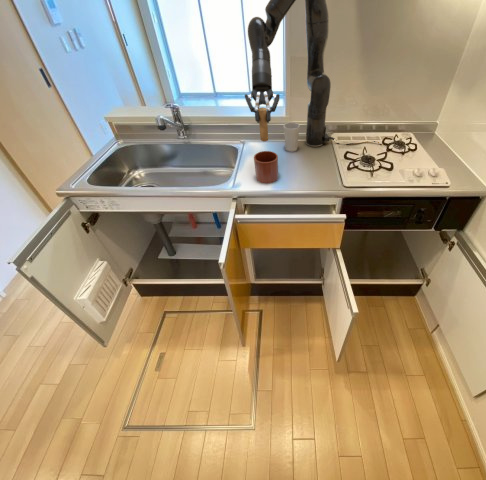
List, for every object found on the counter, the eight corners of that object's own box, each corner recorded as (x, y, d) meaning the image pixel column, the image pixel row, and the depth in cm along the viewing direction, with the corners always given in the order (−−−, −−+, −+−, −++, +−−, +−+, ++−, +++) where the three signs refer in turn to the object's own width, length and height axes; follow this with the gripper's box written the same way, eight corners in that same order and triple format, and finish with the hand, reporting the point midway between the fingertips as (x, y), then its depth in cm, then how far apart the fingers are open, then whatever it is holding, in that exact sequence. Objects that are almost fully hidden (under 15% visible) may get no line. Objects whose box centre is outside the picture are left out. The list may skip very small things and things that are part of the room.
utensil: (267, 137, 110) (265, 107, 102) (268, 140, 108) (267, 110, 100) (259, 138, 110) (257, 107, 101) (261, 141, 108) (258, 110, 99)
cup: (281, 150, 137) (280, 127, 129) (287, 143, 142) (287, 121, 134) (295, 153, 135) (295, 130, 126) (301, 146, 140) (302, 123, 131)
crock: (275, 169, 124) (275, 149, 117) (280, 181, 118) (280, 161, 110) (254, 172, 123) (252, 152, 116) (258, 184, 116) (255, 164, 109)
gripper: (241, 71, 98) (243, 118, 98) (280, 70, 98) (281, 117, 98) (244, 82, 105) (245, 126, 105) (280, 82, 105) (281, 125, 106)
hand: (263, 121), depth 102 cm, fingers closed on utensil, 3 cm apart
